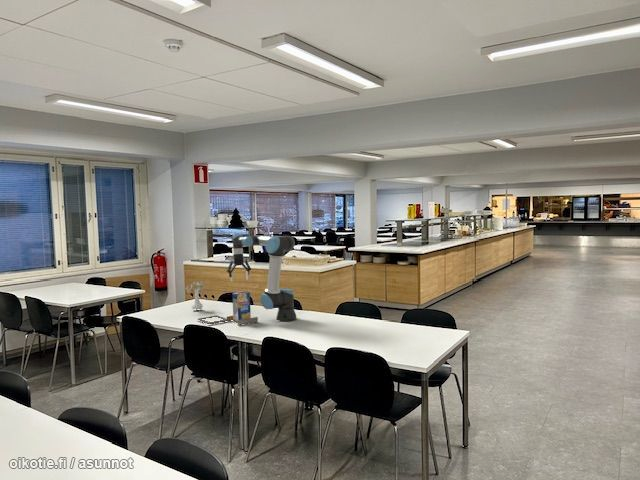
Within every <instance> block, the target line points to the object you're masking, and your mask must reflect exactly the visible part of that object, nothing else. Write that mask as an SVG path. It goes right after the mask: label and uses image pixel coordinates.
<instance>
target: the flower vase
mask: <svg viewBox="0 0 640 480" xmlns="http://www.w3.org/2000/svg"><path fill="white" fill-rule="evenodd" d="M205 288H206V285H205V284H204V283H203V281H202V280H200V282H199V281H192V283H190V287H189V286H188V285H186V287H184V290H186V293H187V294H191V290H193V291H194V302H193V303H192V304H191V309H192V310H193V309H196V310H197V309H201V310H202V309H203V308H204V305H203V303H202V302H201V301H200V296H199V291H201V290H202V291H205Z"/></svg>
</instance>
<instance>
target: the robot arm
mask: <svg viewBox="0 0 640 480" xmlns="http://www.w3.org/2000/svg"><path fill="white" fill-rule="evenodd" d="M295 243H296V242H295V239H294V238H293V237H292V236H290V235H276V236H265V235H250V236H243V234H242V233H237V234H232V250H233V251H232V252H233V259H232V260H231V259H230V260H229V265H228V267H227V270H226V273H228V274H229V278H230V282H233V281H234V275H233V271H234V270H235V269H236V267H237V266H242V268H244V270H246V271H245V279H246V280H249V275H250V271H251V270H252V268H251V266H250V264H249V262H248V259H247V258H244V254H243V253H244V249H243V248H244V247H253V246H264V248H265V250H266V252H267V253H268V256H269V262H268V263H269V265H268V272H267V273H268V274H267V284H266V288H265V289H264V291H263V292H264V293H262V294H261V295H260V297H259V298H260V304H261V305H262V307H263V308H264V309H265V310H273V309H277V308H278V311H277V314H276V316H275V317H276V321H277V320H280V321H279V322H293V321H296V320H297V314H296V311H295V308H294V307H295V305H294V301H295V300H294V298H295V297H294V291H293V289H291V288H290V289H288V288H280V278H281V269H282V260H283V259H282V258H283V257H284V256H285V253H287V252H290V251H292V250H293V249H295V248H294V247H295ZM292 320H293V321H292Z"/></svg>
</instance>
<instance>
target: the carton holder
mask: <svg viewBox="0 0 640 480" xmlns="http://www.w3.org/2000/svg"><path fill="white" fill-rule="evenodd" d="M226 319H227V320H228V321H231V320H233V315H228V316H226ZM231 322H232V321H231ZM237 322H238V324H237V326H238V325H242V324H247V325H249V324H248V323H252V324H255V323H254V322H258V323H259V317H258V316H254V317H251V318H248V319H242V320H237ZM242 326H243V325H242Z"/></svg>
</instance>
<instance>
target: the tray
mask: <svg viewBox="0 0 640 480" xmlns="http://www.w3.org/2000/svg"><path fill="white" fill-rule="evenodd" d="M212 317H218V318H221V319H223V320H220V321H214V322H208V321H205V320H202V319H206V318H212ZM198 320H200V321H202V322H204V323H207V324H214V323H219V322H225V321H228V320H227V317H224V316H220V315H218V314H217V315H211V316H206V317H205V316H204V317H200V318H197V321H198ZM204 323H203V324H204Z"/></svg>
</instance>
